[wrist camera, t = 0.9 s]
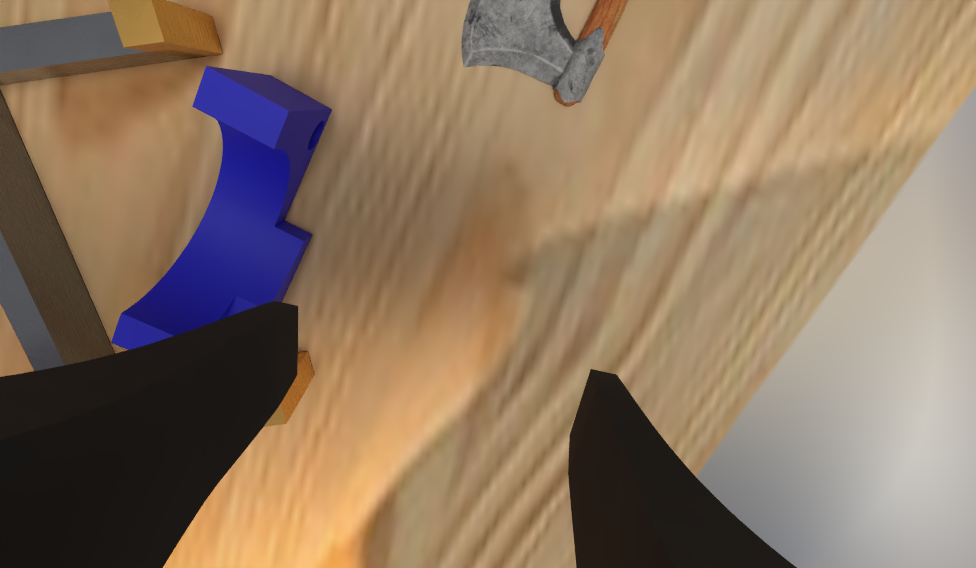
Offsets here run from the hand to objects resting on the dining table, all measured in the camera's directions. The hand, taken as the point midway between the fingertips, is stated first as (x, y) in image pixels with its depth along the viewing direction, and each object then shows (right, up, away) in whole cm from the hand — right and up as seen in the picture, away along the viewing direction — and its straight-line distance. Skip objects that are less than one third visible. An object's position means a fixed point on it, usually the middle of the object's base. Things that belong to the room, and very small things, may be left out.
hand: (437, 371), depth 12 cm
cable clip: (-10, +6, +13) cm, 17 cm away
